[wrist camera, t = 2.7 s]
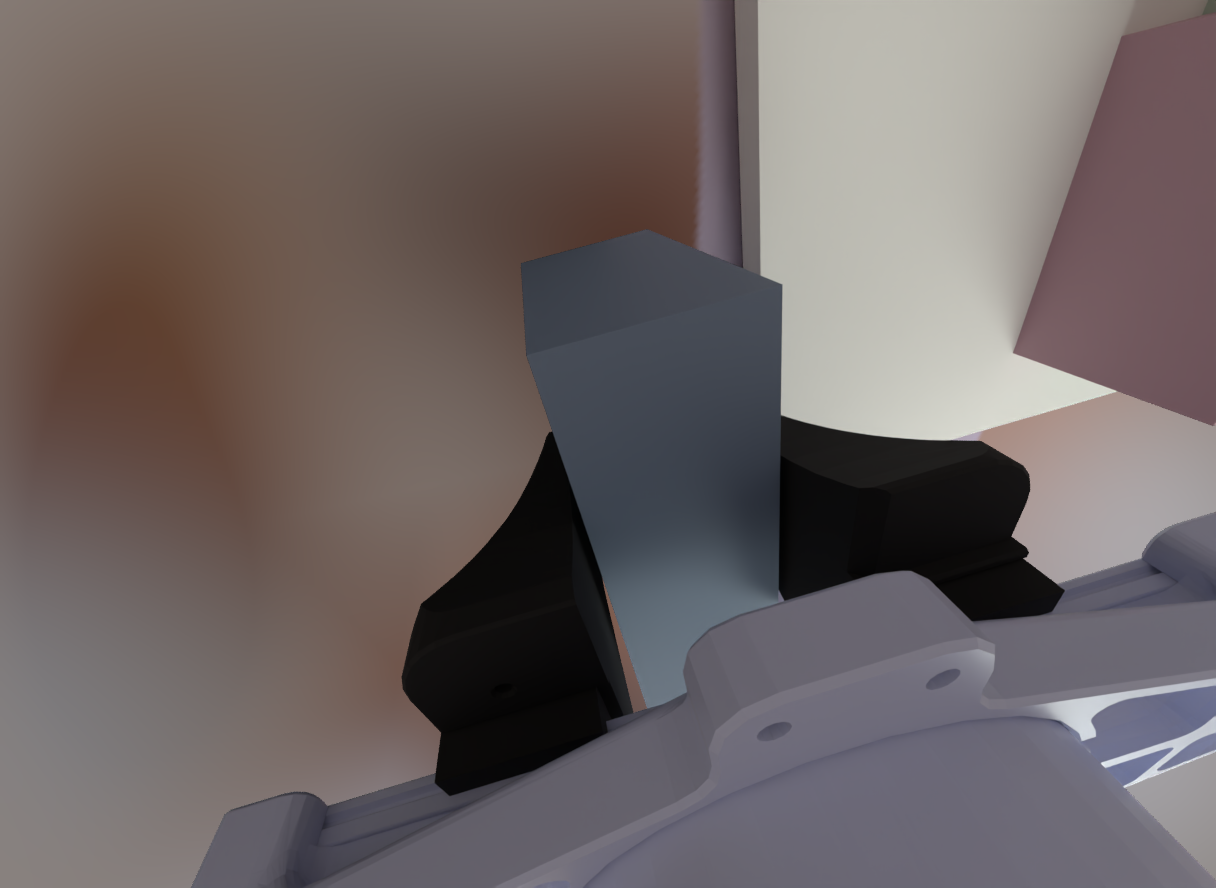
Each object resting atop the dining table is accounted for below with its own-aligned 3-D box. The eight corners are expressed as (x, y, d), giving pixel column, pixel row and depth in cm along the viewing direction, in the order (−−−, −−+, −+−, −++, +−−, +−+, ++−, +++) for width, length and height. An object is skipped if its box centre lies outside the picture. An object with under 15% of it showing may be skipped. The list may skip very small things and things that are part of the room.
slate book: (687, 502, 17) (777, 672, 11) (602, 526, 17) (648, 712, 11) (647, 229, 12) (781, 284, 6) (521, 263, 11) (526, 355, 6)
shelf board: (1086, 380, 19) (1117, 391, 18) (749, 477, 19) (762, 494, 18) (1354, -201, 10) (1443, -240, 9) (733, -49, 10) (757, -73, 9)
